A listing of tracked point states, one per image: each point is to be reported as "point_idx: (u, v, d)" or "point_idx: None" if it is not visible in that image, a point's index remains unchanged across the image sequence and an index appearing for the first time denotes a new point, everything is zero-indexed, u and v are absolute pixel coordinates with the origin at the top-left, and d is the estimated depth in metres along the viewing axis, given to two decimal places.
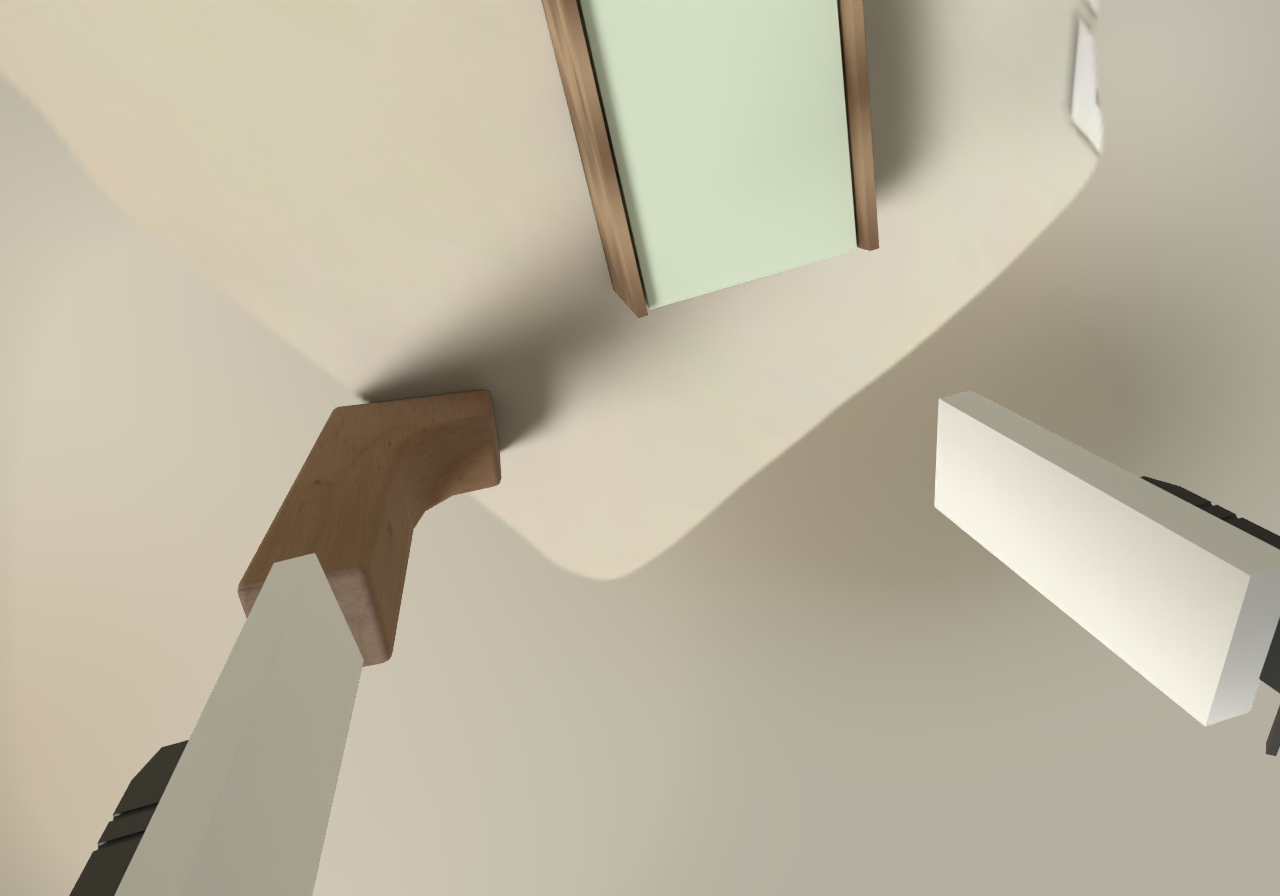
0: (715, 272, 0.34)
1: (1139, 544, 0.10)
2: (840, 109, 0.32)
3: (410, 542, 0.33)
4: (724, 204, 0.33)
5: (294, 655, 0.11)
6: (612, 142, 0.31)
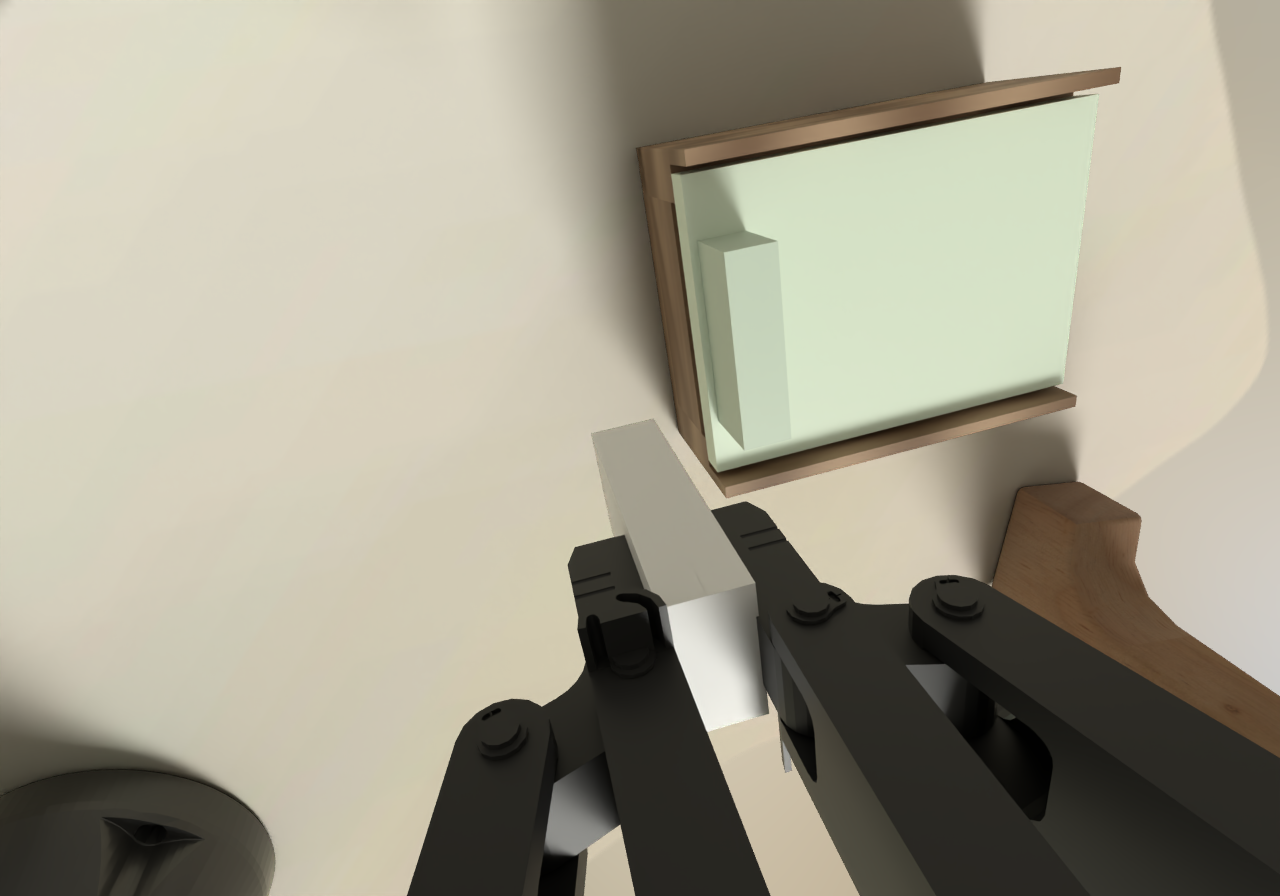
0: (1053, 305, 0.28)
1: None
2: (929, 134, 0.24)
3: (1205, 648, 0.34)
4: (988, 296, 0.27)
5: None
6: (896, 424, 0.29)
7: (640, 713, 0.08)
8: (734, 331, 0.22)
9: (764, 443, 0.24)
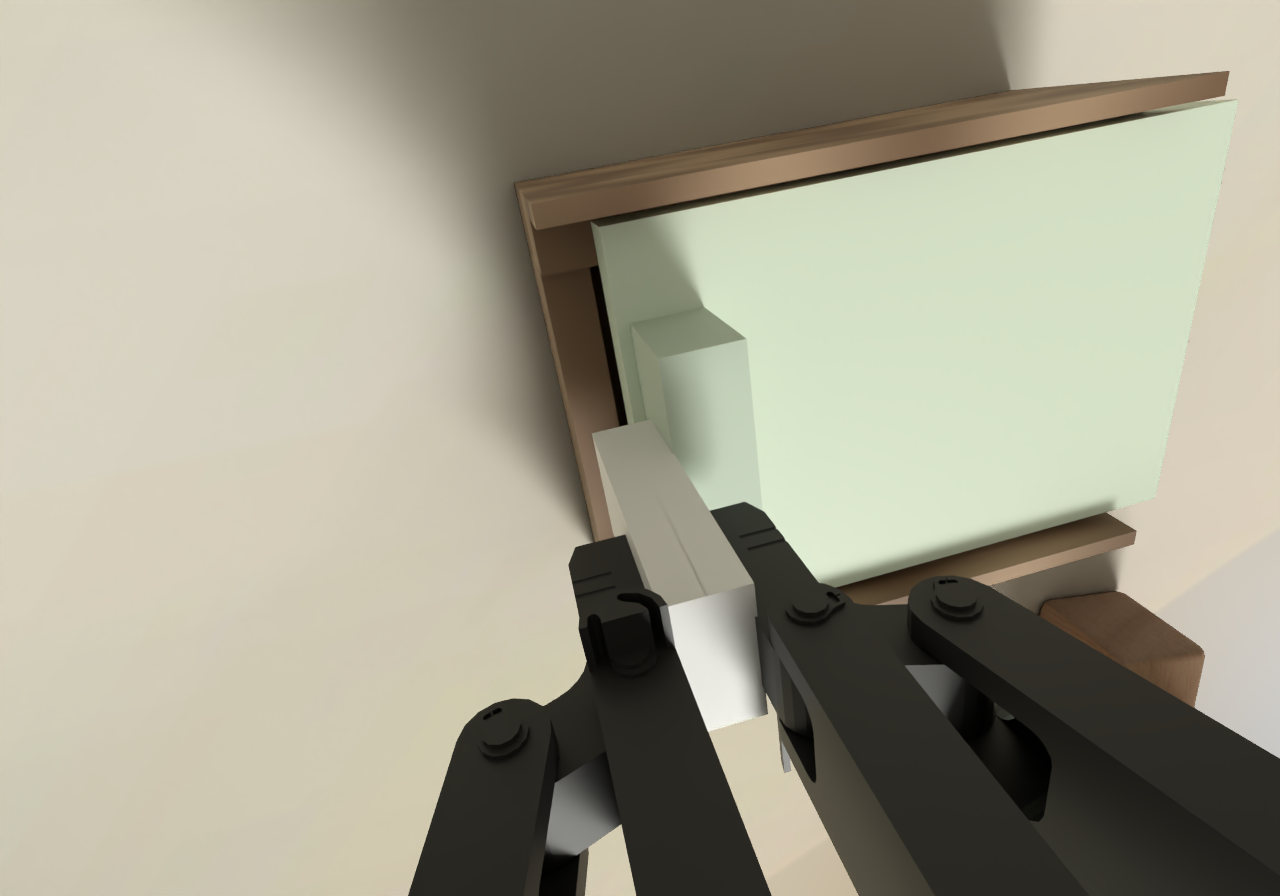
0: (1150, 397, 0.20)
1: None
2: (984, 162, 0.16)
3: None
4: (1060, 389, 0.19)
5: None
6: (924, 560, 0.21)
7: (641, 713, 0.08)
8: None
9: None
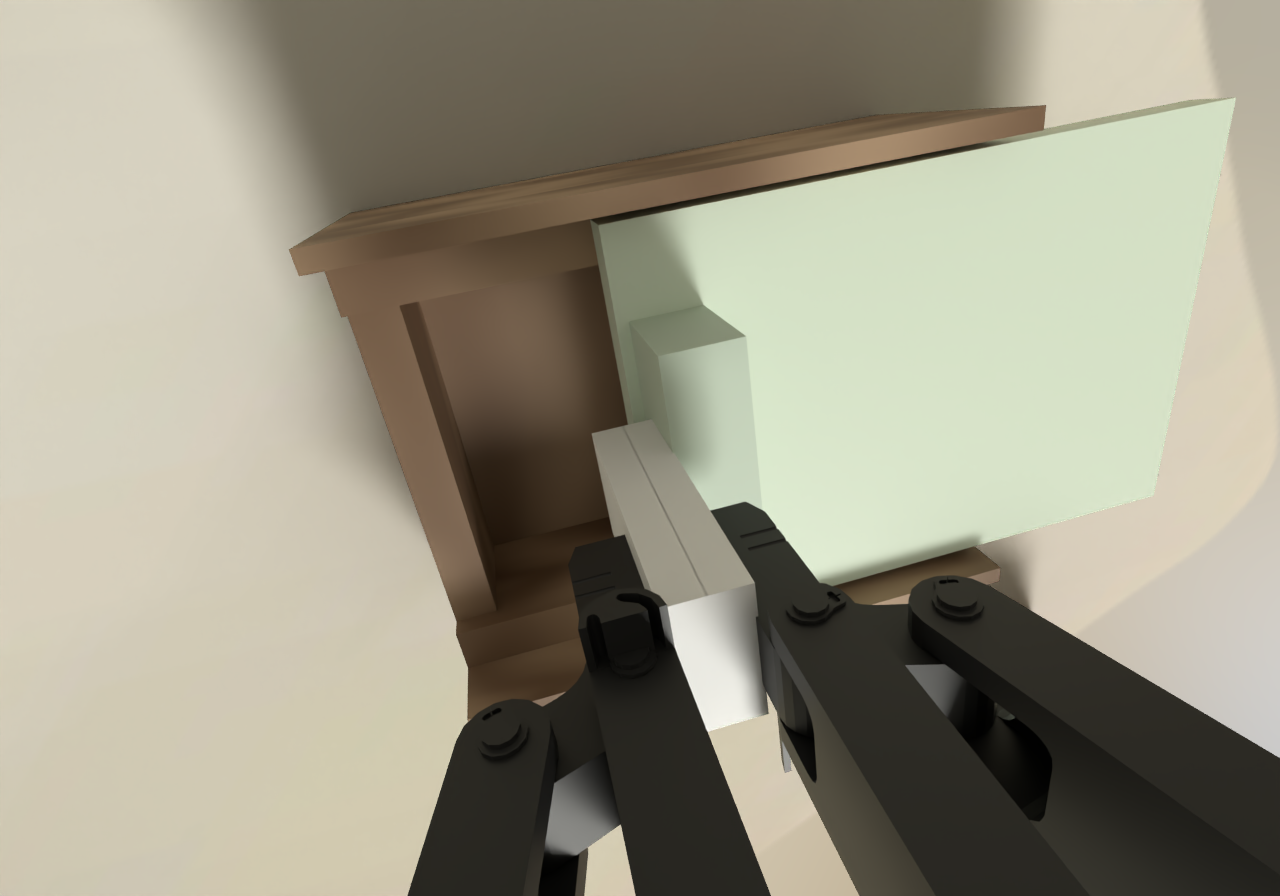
0: (1148, 395, 0.20)
1: None
2: (983, 160, 0.16)
3: None
4: (1058, 386, 0.19)
5: None
6: (924, 558, 0.21)
7: (640, 713, 0.08)
8: None
9: None
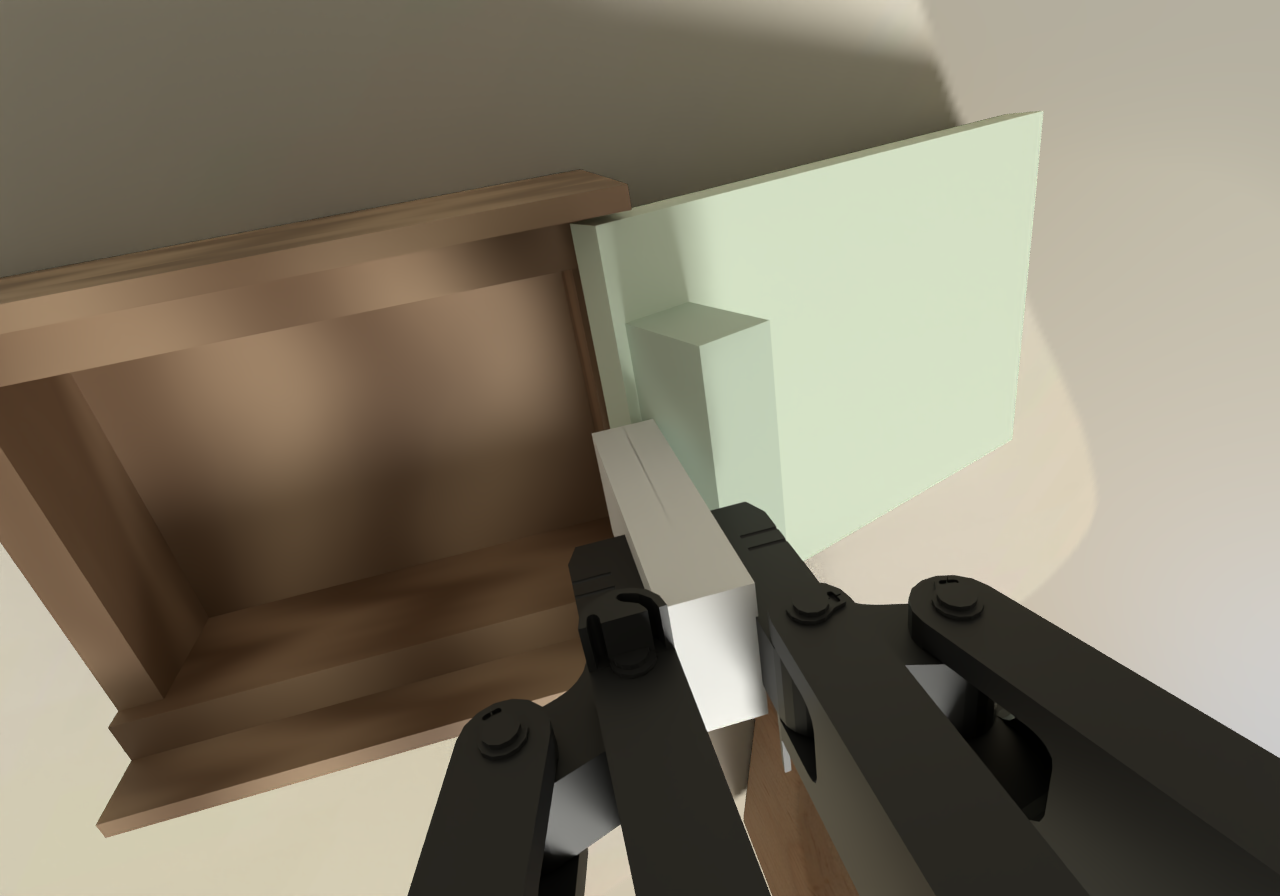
0: (1005, 355, 0.24)
1: None
2: (892, 159, 0.18)
3: None
4: (950, 354, 0.22)
5: None
6: (865, 522, 0.23)
7: (640, 713, 0.08)
8: (717, 462, 0.14)
9: None
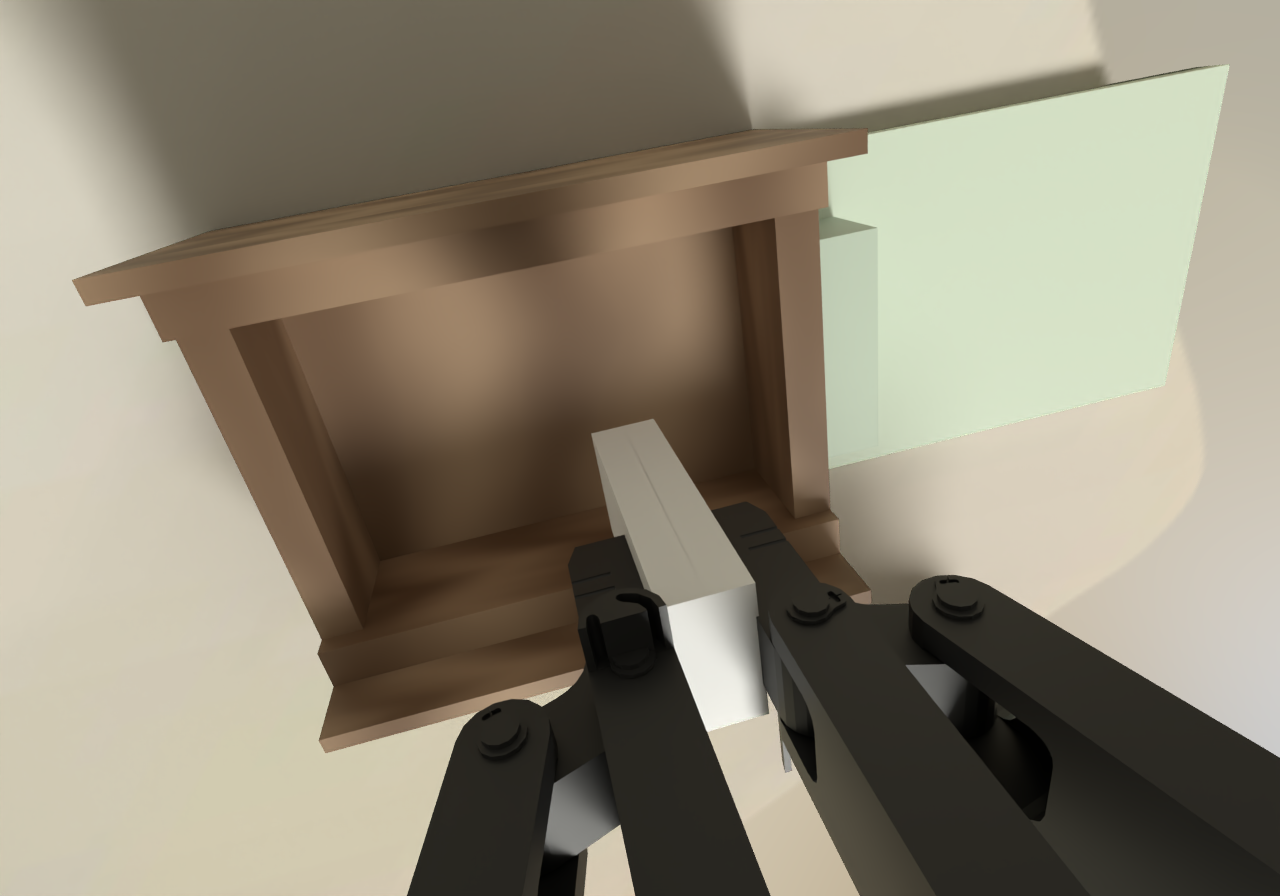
0: (1161, 300, 0.26)
1: None
2: (1039, 110, 0.22)
3: None
4: (1091, 290, 0.25)
5: None
6: (982, 429, 0.26)
7: (640, 713, 0.08)
8: (824, 328, 0.20)
9: (848, 450, 0.22)
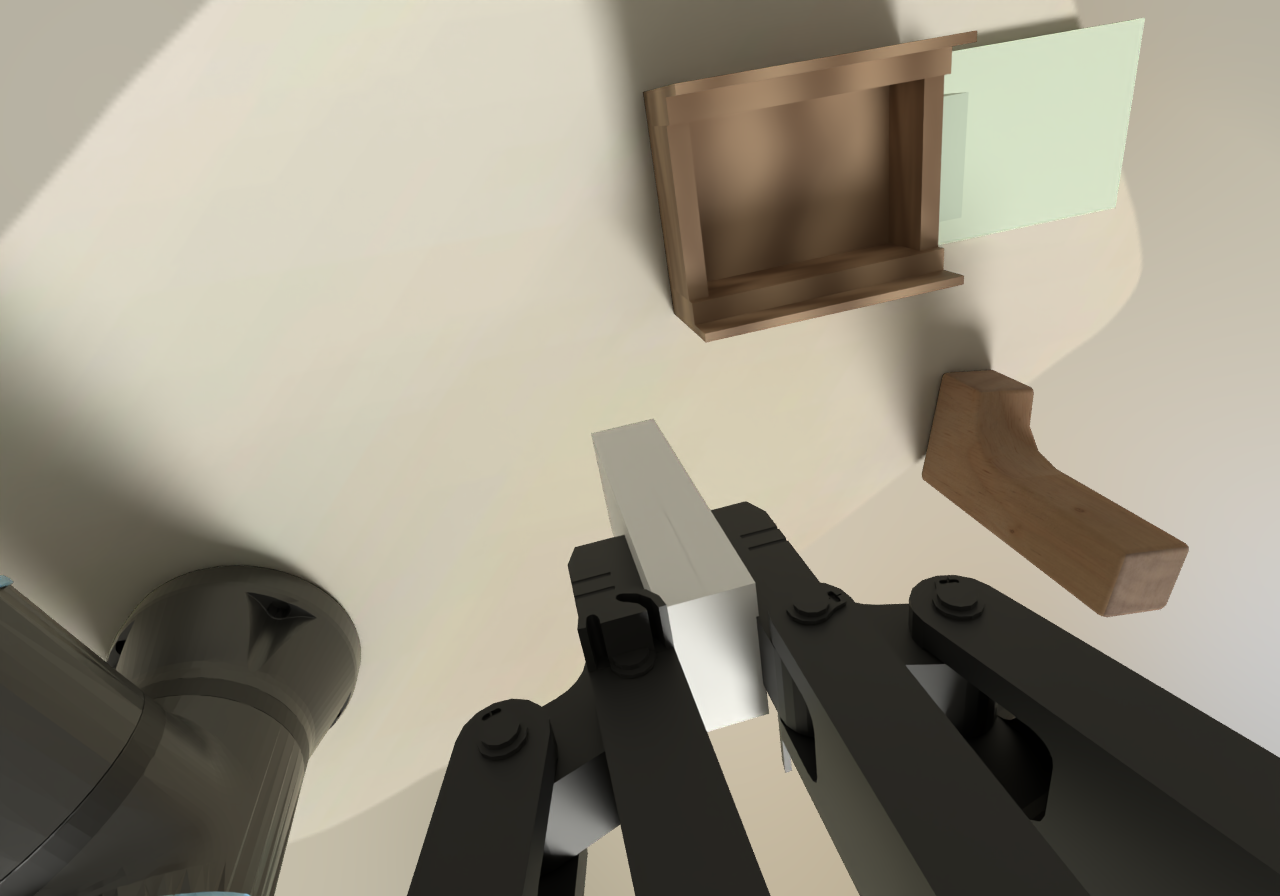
0: (1112, 153, 0.46)
1: None
2: (1046, 39, 0.42)
3: (1073, 480, 0.44)
4: (1073, 144, 0.45)
5: None
6: (1012, 229, 0.46)
7: (640, 713, 0.08)
8: None
9: (946, 219, 0.42)
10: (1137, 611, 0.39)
